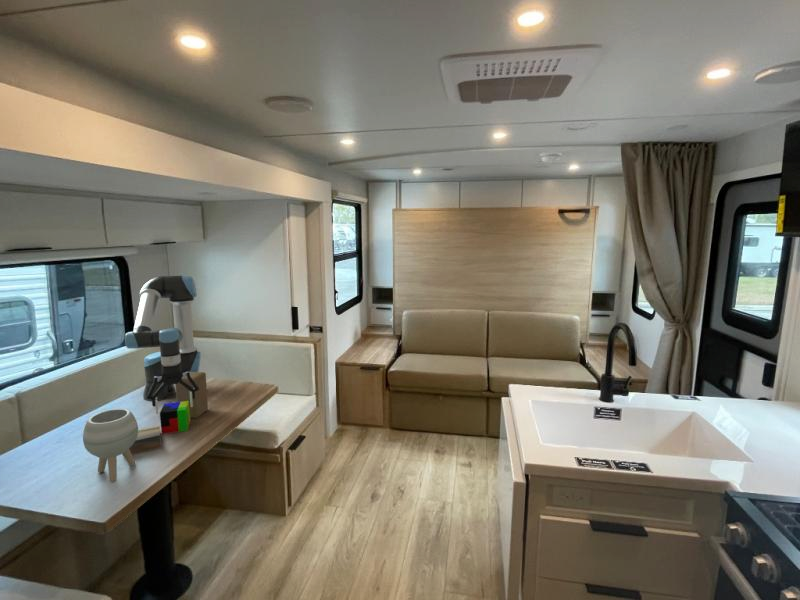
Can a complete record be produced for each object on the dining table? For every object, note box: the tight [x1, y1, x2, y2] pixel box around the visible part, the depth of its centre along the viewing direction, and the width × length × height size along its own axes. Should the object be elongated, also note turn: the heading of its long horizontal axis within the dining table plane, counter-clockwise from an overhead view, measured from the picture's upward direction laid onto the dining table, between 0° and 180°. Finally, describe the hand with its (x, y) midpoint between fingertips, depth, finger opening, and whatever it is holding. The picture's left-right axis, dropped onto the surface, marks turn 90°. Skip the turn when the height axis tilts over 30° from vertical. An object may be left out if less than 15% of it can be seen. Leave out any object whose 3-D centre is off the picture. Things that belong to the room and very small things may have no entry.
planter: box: [82, 408, 139, 483], centre depth 144 cm, size 16×16×22 cm
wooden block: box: [175, 371, 209, 419], centre depth 192 cm, size 10×10×20 cm
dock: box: [129, 425, 162, 455], centre depth 166 cm, size 15×13×6 cm
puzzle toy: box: [159, 401, 191, 435], centre depth 180 cm, size 10×10×10 cm
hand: (174, 409), depth 179 cm, fingers open, 13 cm apart
